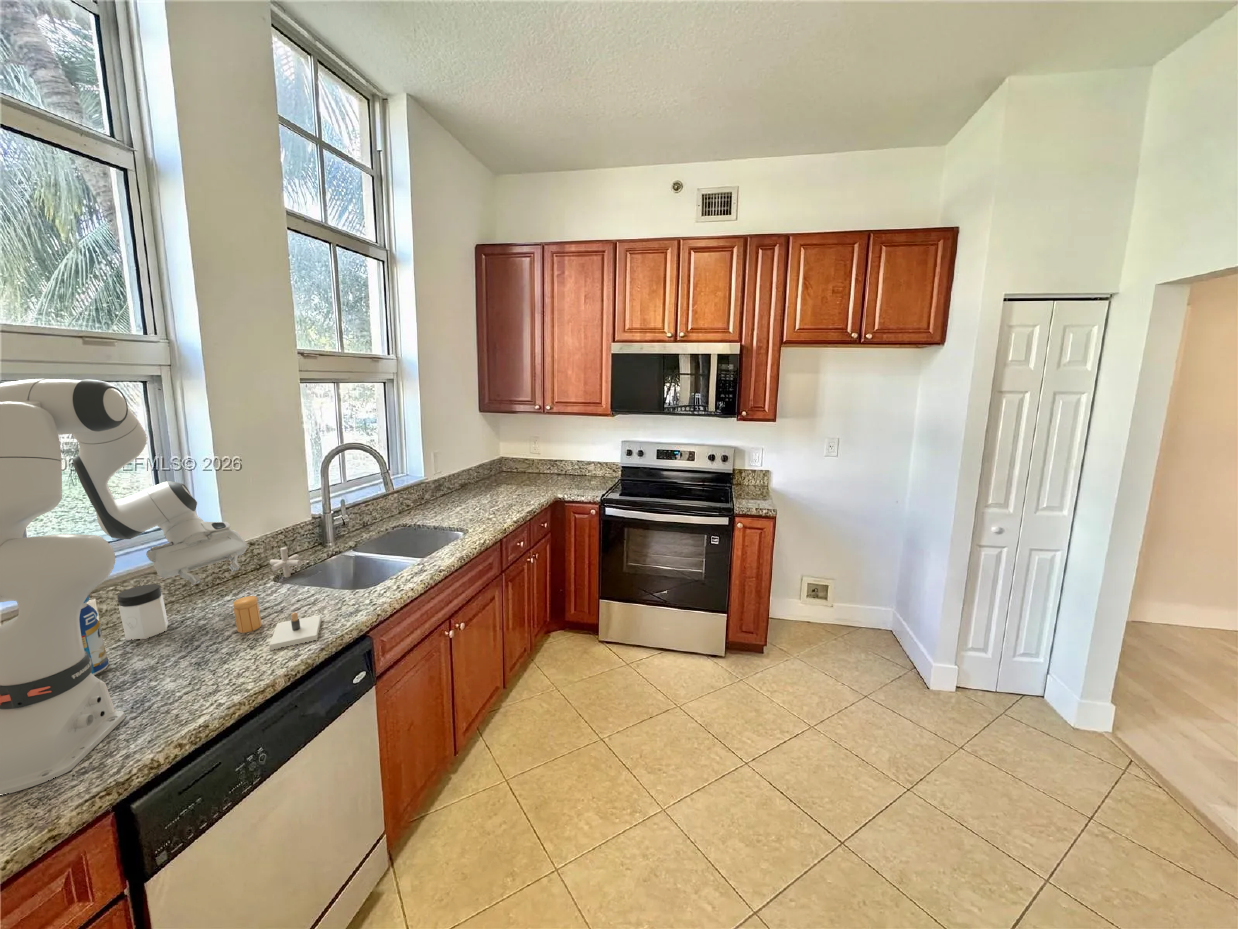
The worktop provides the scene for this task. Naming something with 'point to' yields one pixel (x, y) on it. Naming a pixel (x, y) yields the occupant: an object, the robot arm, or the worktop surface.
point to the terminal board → (295, 631)
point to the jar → (142, 611)
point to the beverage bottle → (92, 638)
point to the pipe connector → (285, 562)
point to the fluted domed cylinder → (247, 614)
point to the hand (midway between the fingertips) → (217, 575)
